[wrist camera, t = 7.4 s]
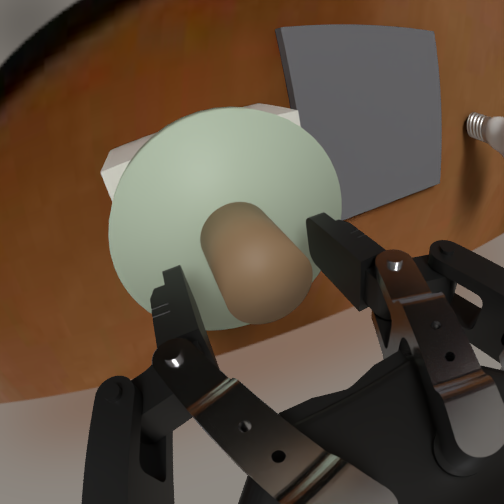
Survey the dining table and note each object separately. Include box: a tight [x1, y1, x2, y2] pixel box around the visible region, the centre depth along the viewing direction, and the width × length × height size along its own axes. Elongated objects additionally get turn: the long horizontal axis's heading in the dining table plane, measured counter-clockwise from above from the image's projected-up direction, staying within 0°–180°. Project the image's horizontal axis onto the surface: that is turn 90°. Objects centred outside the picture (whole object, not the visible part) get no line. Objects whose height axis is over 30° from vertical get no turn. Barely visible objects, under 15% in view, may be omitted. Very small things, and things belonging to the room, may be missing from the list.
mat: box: [275, 25, 441, 220], centre depth 20 cm, size 14×14×1 cm
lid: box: [109, 107, 342, 330], centre depth 13 cm, size 11×11×5 cm
